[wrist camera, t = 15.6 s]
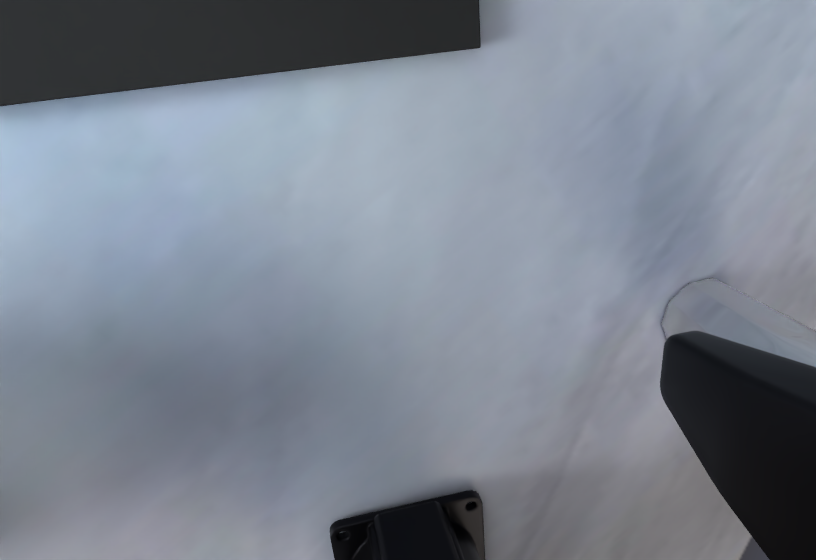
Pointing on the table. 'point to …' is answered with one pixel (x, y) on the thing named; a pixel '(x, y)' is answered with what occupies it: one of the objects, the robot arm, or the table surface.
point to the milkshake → (738, 320)
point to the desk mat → (209, 40)
